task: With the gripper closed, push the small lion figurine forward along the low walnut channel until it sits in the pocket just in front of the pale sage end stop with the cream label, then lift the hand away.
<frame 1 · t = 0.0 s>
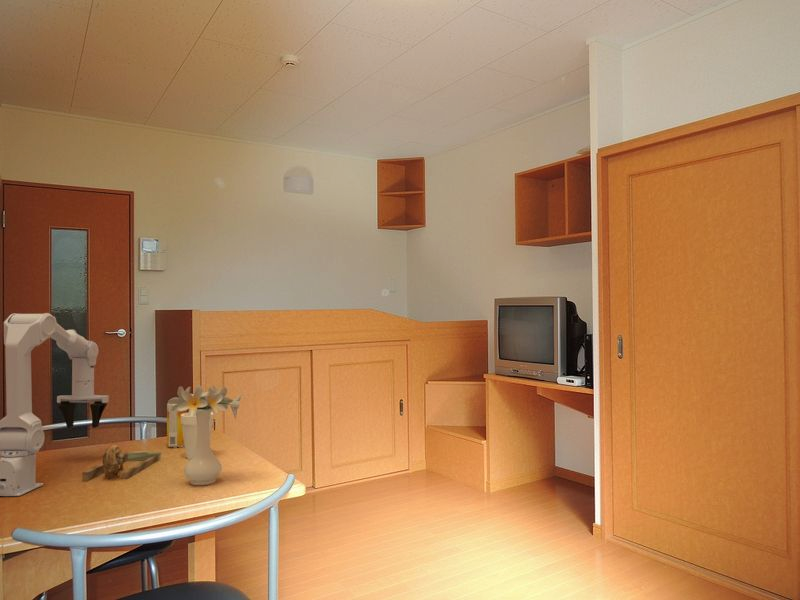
hand: (82, 427, 174), 10 cm above the table, tool pointing down, fingers open, 7 cm apart
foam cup: (197, 457, 179), on the table
yellow box: (176, 446, 193), on the table
flower vase: (205, 482, 153), on the table
flange channel: (124, 469, 164), on the table
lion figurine: (114, 475, 159), resting in flange channel
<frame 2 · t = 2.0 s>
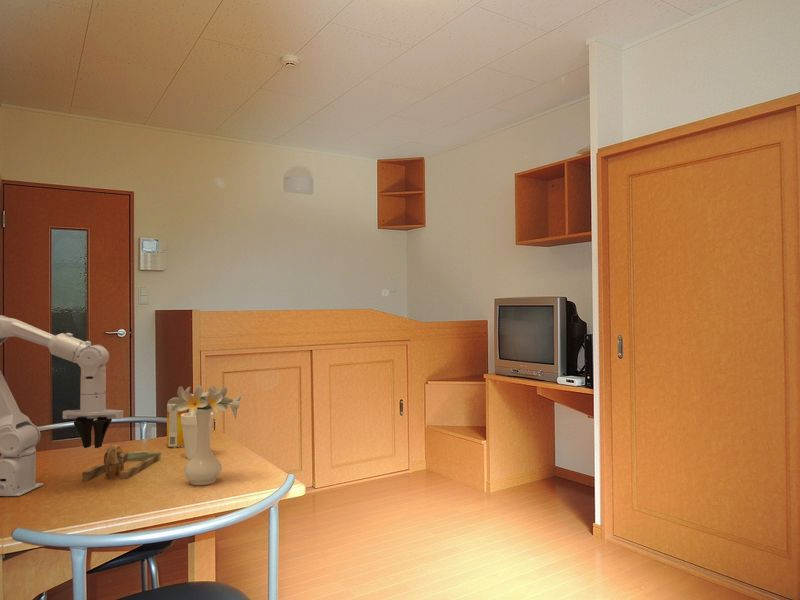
hand: (92, 447, 148), 10 cm above the table, tool pointing down, fingers closed
nothing on the table moved.
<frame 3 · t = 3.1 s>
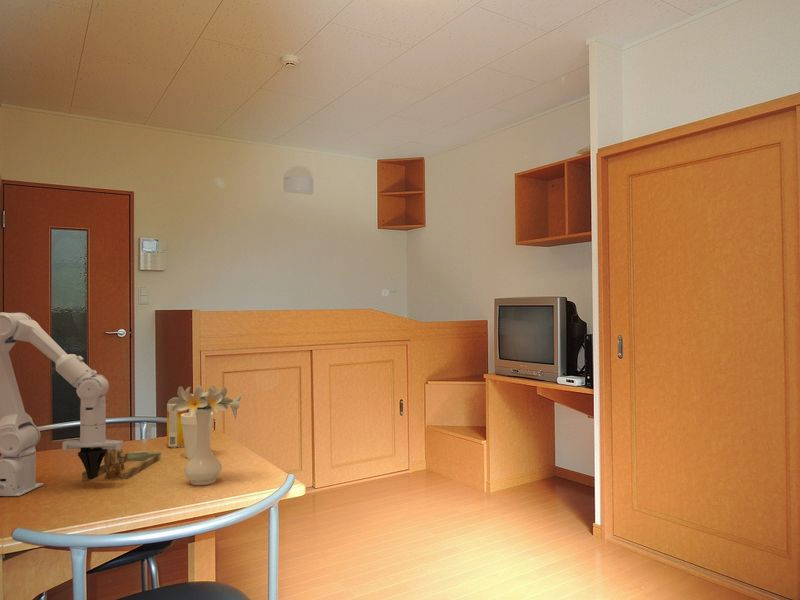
hand: (92, 477, 148), 2 cm above the table, tool pointing down, fingers closed
nothing on the table moved.
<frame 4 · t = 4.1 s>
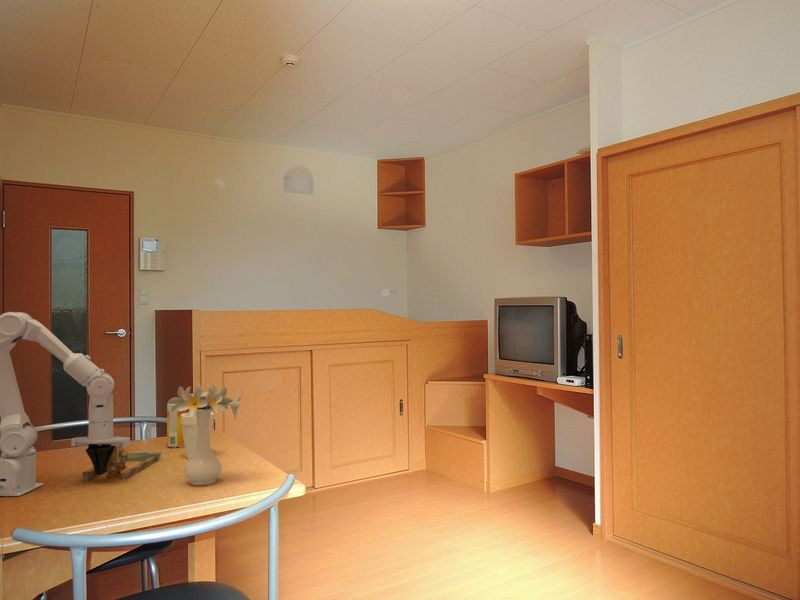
hand: (100, 473, 152), 2 cm above the table, tool pointing down, fingers closed
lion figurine: (117, 474, 161), resting in flange channel, touching gripper
everything else where it was.
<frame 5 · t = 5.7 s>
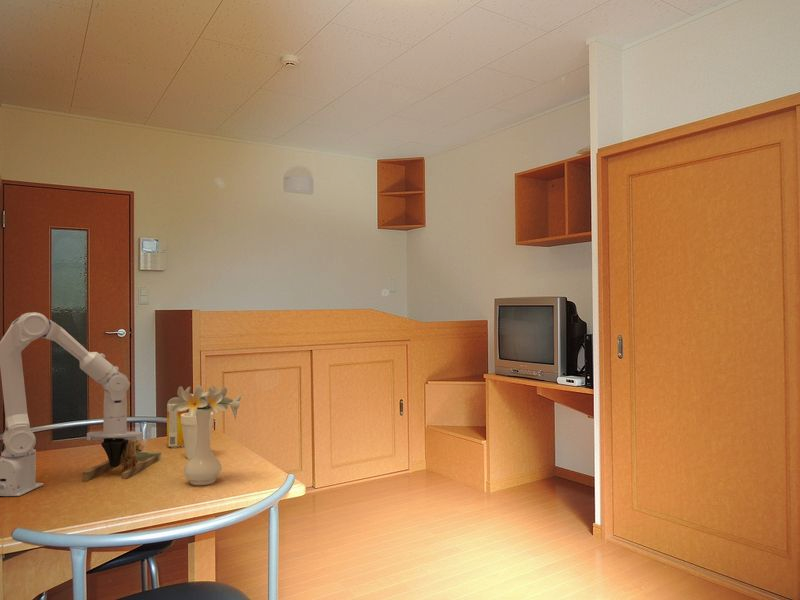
hand: (114, 466, 159), 2 cm above the table, tool pointing down, fingers closed
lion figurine: (131, 467, 167), resting in flange channel, touching gripper
everything else where it was.
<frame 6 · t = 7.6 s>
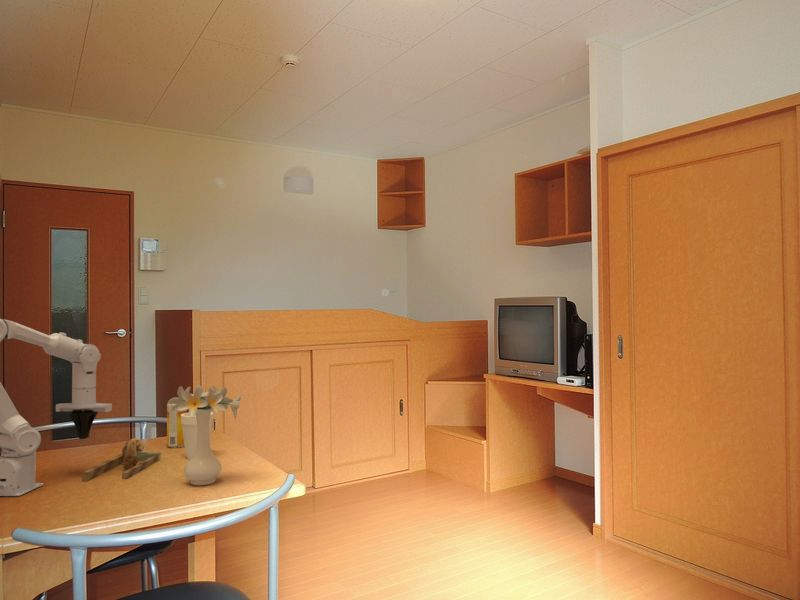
hand: (83, 438, 159), 10 cm above the table, tool pointing down, fingers closed
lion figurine: (132, 467, 168), resting in flange channel
everything else where it was.
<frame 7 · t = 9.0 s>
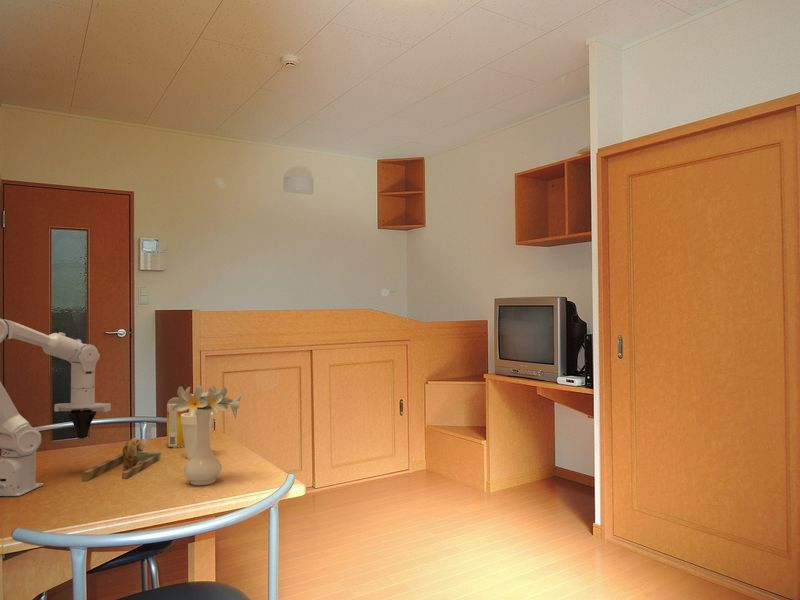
hand: (82, 437, 160), 10 cm above the table, tool pointing down, fingers closed
nothing on the table moved.
at the end: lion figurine inside the target area (1.3 cm from its centre), resting in flange channel; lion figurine tilted 0°; the gripper is holding nothing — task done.
